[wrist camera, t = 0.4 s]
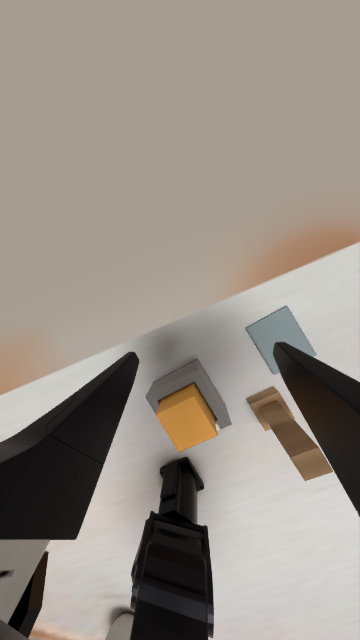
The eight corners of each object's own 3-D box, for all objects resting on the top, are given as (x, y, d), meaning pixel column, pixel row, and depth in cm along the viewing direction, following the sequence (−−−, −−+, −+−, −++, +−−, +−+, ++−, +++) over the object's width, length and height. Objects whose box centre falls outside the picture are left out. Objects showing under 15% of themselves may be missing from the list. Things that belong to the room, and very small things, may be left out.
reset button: (213, 414, 20) (217, 435, 16) (181, 428, 21) (178, 452, 17) (193, 381, 20) (193, 396, 16) (162, 397, 21) (155, 414, 17)
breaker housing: (225, 404, 23) (231, 425, 18) (179, 425, 24) (176, 449, 20) (197, 358, 23) (198, 369, 18) (153, 382, 24) (144, 397, 20)
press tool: (288, 411, 21) (348, 476, 13) (260, 422, 22) (300, 491, 14) (273, 386, 21) (323, 435, 13) (246, 398, 22) (277, 453, 14)
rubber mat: (314, 353, 20) (316, 354, 20) (272, 373, 21) (274, 374, 21) (285, 306, 20) (287, 305, 20) (245, 328, 21) (246, 328, 21)
